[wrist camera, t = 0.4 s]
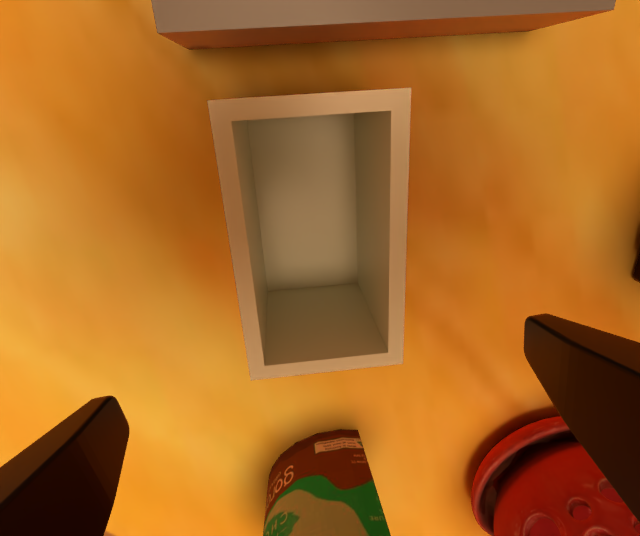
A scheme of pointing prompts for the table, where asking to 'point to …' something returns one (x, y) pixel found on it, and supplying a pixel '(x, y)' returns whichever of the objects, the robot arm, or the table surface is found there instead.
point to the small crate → (317, 226)
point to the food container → (324, 490)
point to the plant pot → (546, 488)
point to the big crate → (354, 19)
